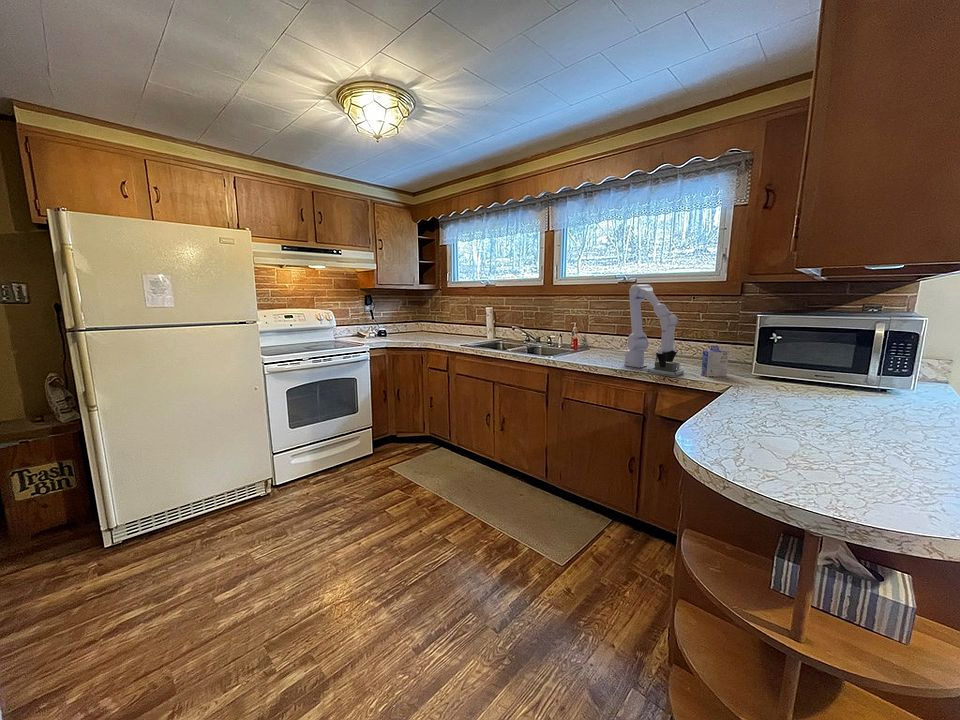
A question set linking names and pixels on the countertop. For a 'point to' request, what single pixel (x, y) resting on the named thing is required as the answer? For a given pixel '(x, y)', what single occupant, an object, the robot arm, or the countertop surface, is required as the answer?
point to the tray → (666, 372)
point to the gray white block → (666, 366)
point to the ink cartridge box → (714, 362)
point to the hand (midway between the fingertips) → (665, 366)
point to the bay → (673, 362)
